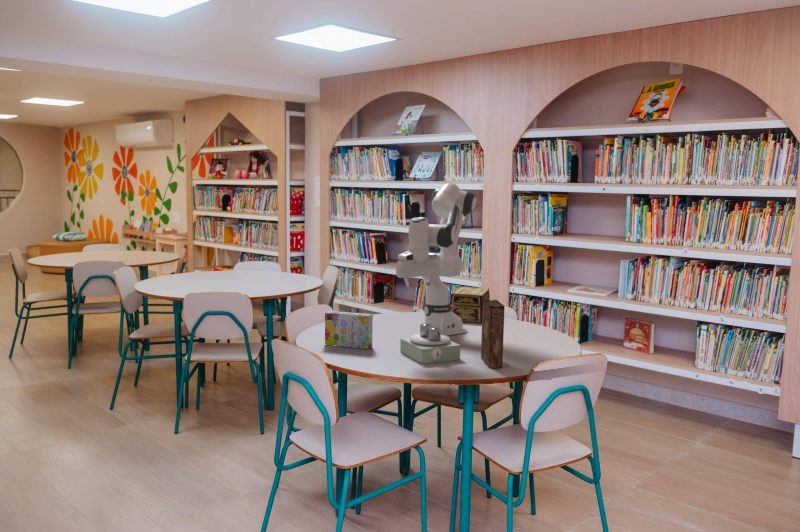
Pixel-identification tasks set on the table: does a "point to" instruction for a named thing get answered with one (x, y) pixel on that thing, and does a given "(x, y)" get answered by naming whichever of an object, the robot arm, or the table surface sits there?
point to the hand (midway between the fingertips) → (418, 286)
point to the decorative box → (469, 303)
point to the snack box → (348, 329)
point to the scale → (429, 349)
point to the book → (492, 333)
